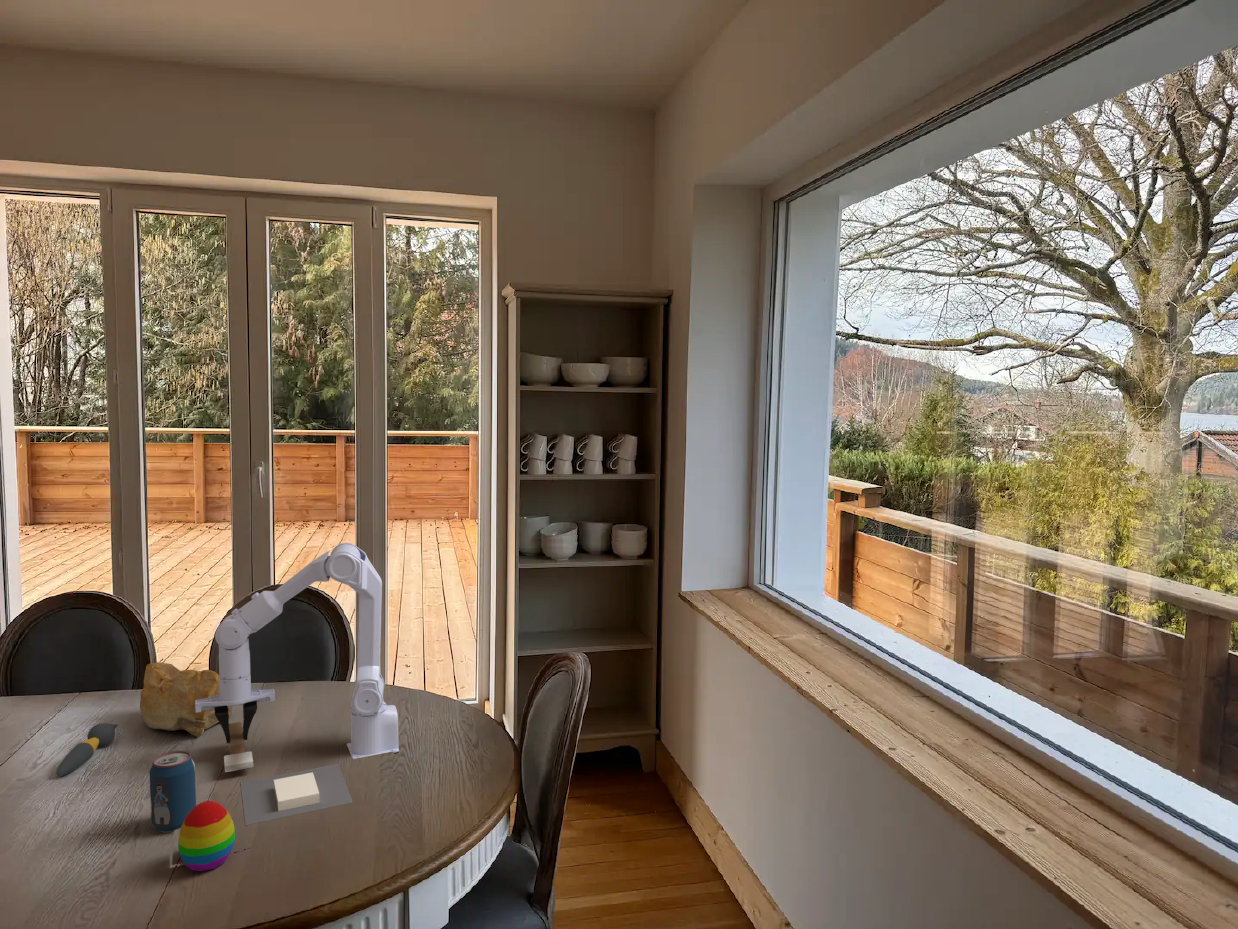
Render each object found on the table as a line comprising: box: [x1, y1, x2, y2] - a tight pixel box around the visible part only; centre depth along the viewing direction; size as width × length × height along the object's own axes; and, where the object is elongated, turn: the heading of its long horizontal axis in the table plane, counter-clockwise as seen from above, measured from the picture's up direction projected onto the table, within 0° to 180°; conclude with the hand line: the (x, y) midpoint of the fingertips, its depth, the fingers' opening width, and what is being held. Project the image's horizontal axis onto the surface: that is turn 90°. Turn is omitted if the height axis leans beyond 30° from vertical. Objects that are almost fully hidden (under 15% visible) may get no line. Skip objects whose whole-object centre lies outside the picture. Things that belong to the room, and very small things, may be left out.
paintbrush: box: [55, 722, 119, 777], centre depth 167 cm, size 20×5×5 cm, turn 9°
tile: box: [274, 772, 319, 811], centre depth 152 cm, size 7×2×9 cm
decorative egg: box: [177, 800, 236, 872], centre depth 132 cm, size 8×8×10 cm
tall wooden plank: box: [223, 721, 254, 773], centre depth 166 cm, size 5×17×3 cm, turn 27°
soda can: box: [148, 750, 197, 834], centre depth 142 cm, size 7×7×12 cm
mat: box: [240, 763, 354, 826], centre depth 154 cm, size 18×17×1 cm
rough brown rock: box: [139, 661, 234, 737], centre depth 184 cm, size 23×16×15 cm
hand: (236, 739), depth 166 cm, fingers closed on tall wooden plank, 2 cm apart
